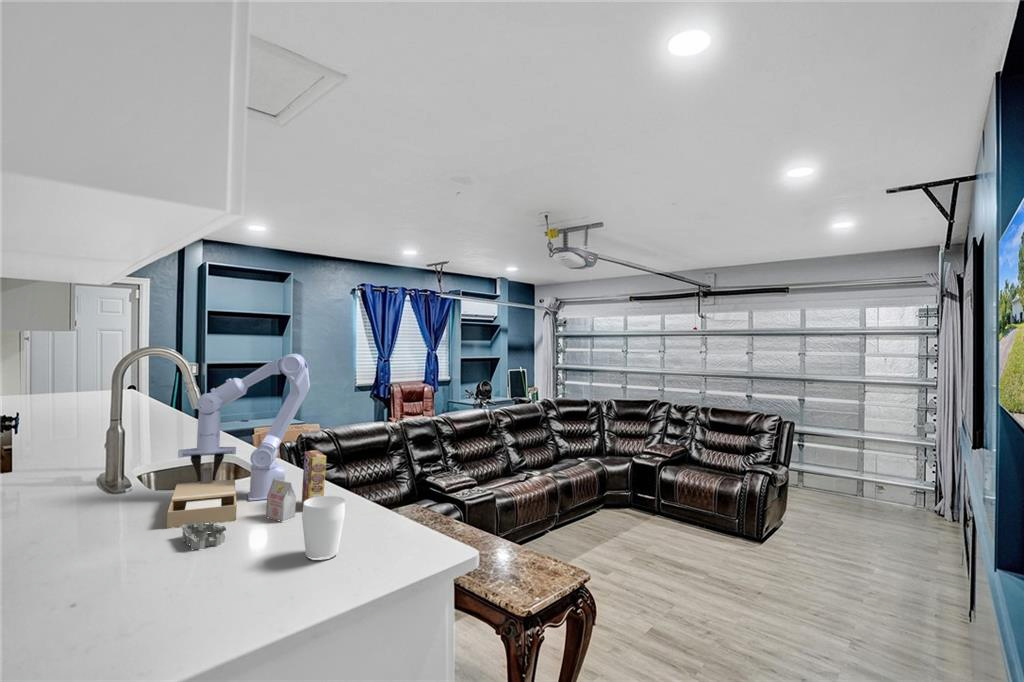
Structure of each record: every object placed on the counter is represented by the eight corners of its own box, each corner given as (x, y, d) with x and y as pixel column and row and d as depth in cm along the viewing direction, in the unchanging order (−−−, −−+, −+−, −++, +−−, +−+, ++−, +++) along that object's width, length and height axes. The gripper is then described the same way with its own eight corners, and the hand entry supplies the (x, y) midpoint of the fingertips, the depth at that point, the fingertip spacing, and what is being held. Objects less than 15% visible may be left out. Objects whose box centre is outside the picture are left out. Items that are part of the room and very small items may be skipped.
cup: (324, 567, 108) (326, 510, 108) (290, 559, 111) (293, 504, 111) (351, 551, 116) (353, 499, 116) (319, 544, 119) (322, 493, 120)
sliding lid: (234, 481, 154) (235, 466, 154) (235, 495, 140) (236, 479, 140) (176, 485, 147) (177, 470, 147) (171, 501, 133) (172, 484, 133)
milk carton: (278, 513, 139) (280, 477, 139) (294, 518, 136) (296, 481, 136) (266, 517, 136) (267, 480, 136) (282, 522, 133) (284, 484, 133)
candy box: (324, 509, 144) (326, 455, 144) (308, 512, 142) (311, 457, 142) (316, 501, 151) (318, 449, 152) (301, 503, 149) (303, 451, 149)
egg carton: (227, 546, 117) (228, 528, 117) (189, 554, 112) (190, 535, 112) (215, 532, 125) (216, 515, 125) (179, 539, 120) (180, 521, 120)
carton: (235, 503, 147) (235, 489, 147) (235, 520, 133) (236, 505, 133) (172, 509, 139) (173, 494, 139) (166, 528, 125) (167, 512, 125)
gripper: (236, 430, 157) (234, 474, 157) (180, 432, 150) (178, 478, 149) (236, 434, 151) (234, 480, 150) (178, 436, 143) (176, 485, 143)
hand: (206, 480), depth 150 cm, fingers open, 3 cm apart
